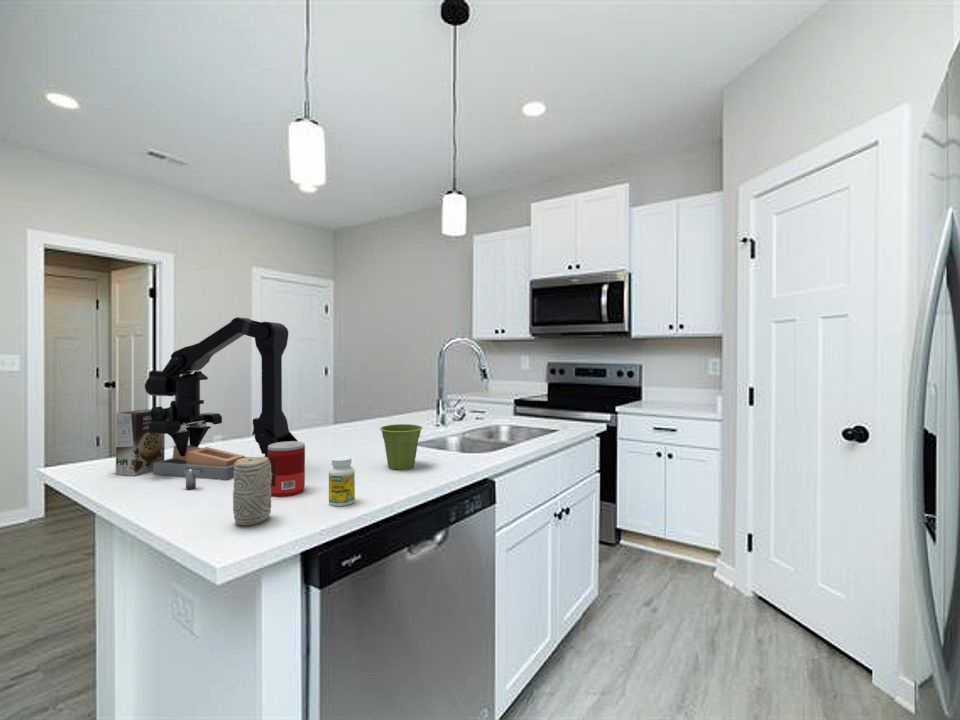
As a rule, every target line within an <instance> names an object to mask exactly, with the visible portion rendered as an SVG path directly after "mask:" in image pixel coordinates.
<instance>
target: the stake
mask: <svg viewBox="0 0 960 720" xmlns="http://www.w3.org/2000/svg"><path fill="white" fill-rule="evenodd" d="M184 474H186V477H185V490H186V491H187V490H188V491H191V489H192V490H194V489H197V488H196V487H197V478H196V474H198V475H199V474H203V469H196V468H187V469H184Z"/></svg>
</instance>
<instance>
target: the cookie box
mask: <svg viewBox="0 0 960 720" xmlns="http://www.w3.org/2000/svg"><path fill="white" fill-rule="evenodd" d="M115 416H116V417H115V418H116V419H115V420H116V423H115V475H118V476H119V475H120V476H121V475H122V476H128V477H130V476H131V477H136V476H140V475H142V474H147V473H152V472H153V463H155V462H159V461H163V460H166V459H165V452H166V451H165V443H166V442H165V441H166V440H165V437H166V436H165V435H166V434H160V433H149V425H150V423H151V422H153V421H158V420H153V419H152V417H151V409H146V408H145V409H140V410H131V411H123V412H122V411H121V412H115Z"/></svg>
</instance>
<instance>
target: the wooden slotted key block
mask: <svg viewBox="0 0 960 720" xmlns="http://www.w3.org/2000/svg"><path fill="white" fill-rule="evenodd" d="M172 453H173V454H172V458H176V459H180V460H184V461H187V462H186V464H190V465H205V466H219V467H228V466H231V465H234V463H235V462H236V461H237V460H238V459H242V458H244V457H245V455H243V454H237V453H234V452H230V451H226V450H222V449H217V448H213V447H208V446H206V447H199V446H198V447H194V446H190V444H188V445H187V450H186V453H185V456H180V454H179V451H178V449H177V447H176V445H174V446H173V452H172Z"/></svg>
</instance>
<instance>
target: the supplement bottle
mask: <svg viewBox="0 0 960 720" xmlns="http://www.w3.org/2000/svg"><path fill="white" fill-rule="evenodd" d="M331 465H332V467H331V468H330V469H329V470H328V503H329V505H330V506H333V507H344V506H350V505H352V504H353V503H355V501H356V499H355V498H356V497H355V494H356V492H355V491H356V489H355V483H356V481H355V479H356V478H355V472H356V470H355V468H354V467H353V466H351V465H352V457H351V456H346V455H345V456H336V457H333V458H331Z"/></svg>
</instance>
